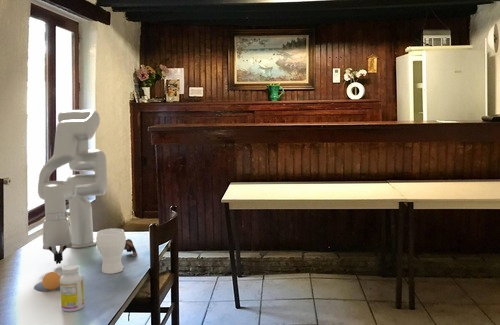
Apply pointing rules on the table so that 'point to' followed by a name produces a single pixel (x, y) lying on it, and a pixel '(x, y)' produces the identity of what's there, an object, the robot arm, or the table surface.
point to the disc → (40, 287)
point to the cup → (111, 249)
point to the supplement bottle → (71, 289)
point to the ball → (51, 280)
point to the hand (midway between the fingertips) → (58, 262)
